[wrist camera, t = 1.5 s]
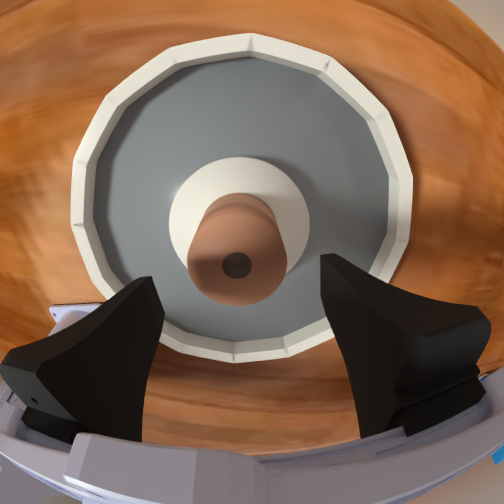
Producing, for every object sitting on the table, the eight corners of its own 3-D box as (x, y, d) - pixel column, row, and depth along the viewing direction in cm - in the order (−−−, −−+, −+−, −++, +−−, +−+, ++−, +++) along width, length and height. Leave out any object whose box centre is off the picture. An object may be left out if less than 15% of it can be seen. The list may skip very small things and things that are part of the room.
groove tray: (380, 320, 24) (390, 337, 22) (141, 348, 25) (135, 365, 23) (383, 47, 13) (400, 40, 11) (64, 100, 14) (45, 99, 12)
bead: (280, 258, 18) (290, 300, 14) (209, 267, 18) (199, 311, 14) (272, 187, 16) (283, 211, 12) (193, 199, 16) (176, 226, 12)
